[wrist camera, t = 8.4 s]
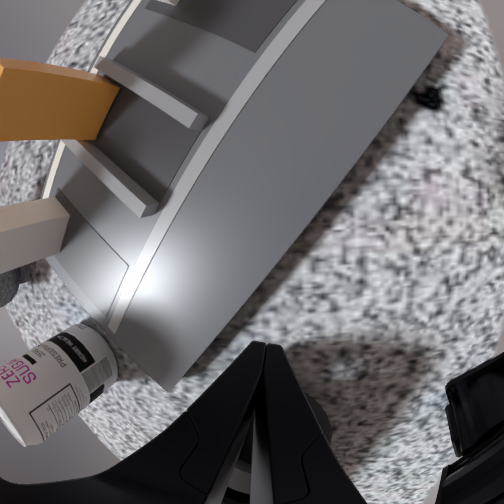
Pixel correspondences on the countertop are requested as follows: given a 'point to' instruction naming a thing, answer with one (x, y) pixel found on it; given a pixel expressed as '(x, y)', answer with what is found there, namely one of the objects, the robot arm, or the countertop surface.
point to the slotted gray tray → (212, 158)
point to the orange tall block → (51, 101)
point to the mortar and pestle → (12, 283)
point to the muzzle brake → (240, 481)
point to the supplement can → (54, 382)
